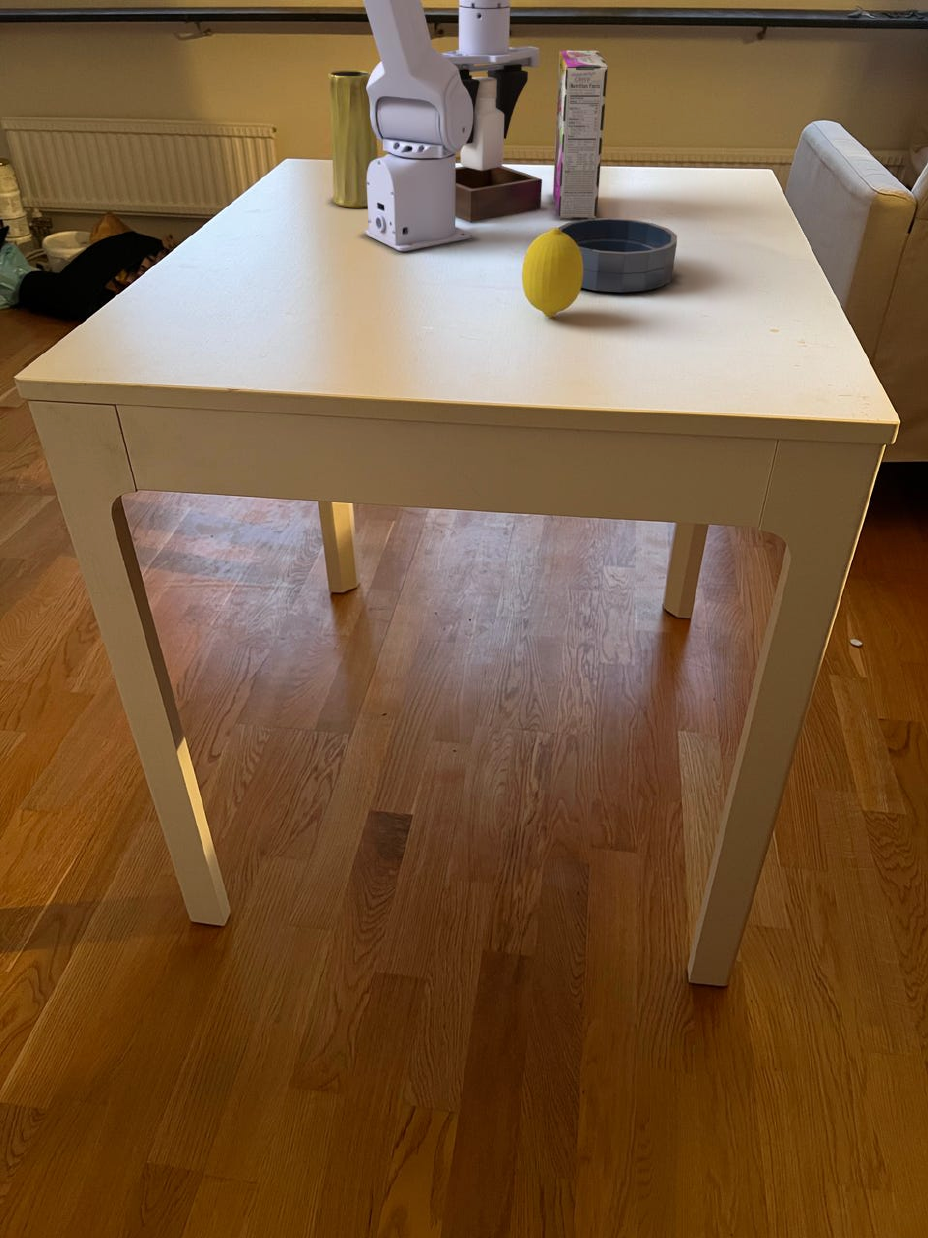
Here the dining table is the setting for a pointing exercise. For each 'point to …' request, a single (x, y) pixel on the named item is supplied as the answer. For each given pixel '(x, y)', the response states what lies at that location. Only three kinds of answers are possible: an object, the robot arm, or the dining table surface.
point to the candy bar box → (579, 133)
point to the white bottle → (485, 130)
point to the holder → (495, 193)
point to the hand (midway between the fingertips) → (482, 139)
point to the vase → (351, 136)
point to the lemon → (552, 272)
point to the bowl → (623, 253)
